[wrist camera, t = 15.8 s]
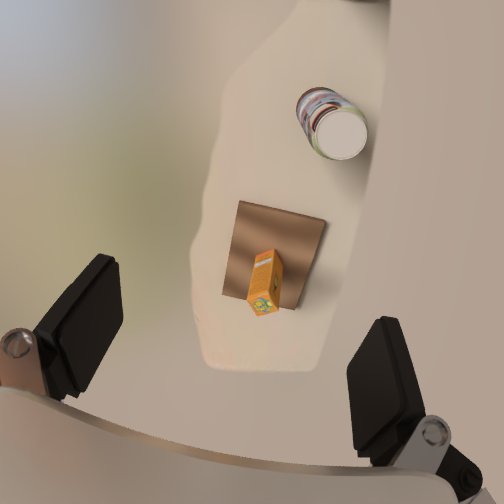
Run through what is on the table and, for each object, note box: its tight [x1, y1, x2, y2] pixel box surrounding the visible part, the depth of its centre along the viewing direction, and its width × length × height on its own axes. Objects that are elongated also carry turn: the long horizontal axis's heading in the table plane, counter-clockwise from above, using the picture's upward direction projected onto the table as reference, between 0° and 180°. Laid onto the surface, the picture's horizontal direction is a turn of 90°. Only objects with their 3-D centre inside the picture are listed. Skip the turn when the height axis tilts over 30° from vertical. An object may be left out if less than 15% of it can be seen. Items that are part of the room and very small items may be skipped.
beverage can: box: [296, 87, 368, 160], centre depth 31 cm, size 6×7×12 cm
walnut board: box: [222, 201, 325, 310], centre depth 47 cm, size 16×12×1 cm
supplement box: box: [247, 249, 283, 316], centre depth 42 cm, size 3×4×10 cm
